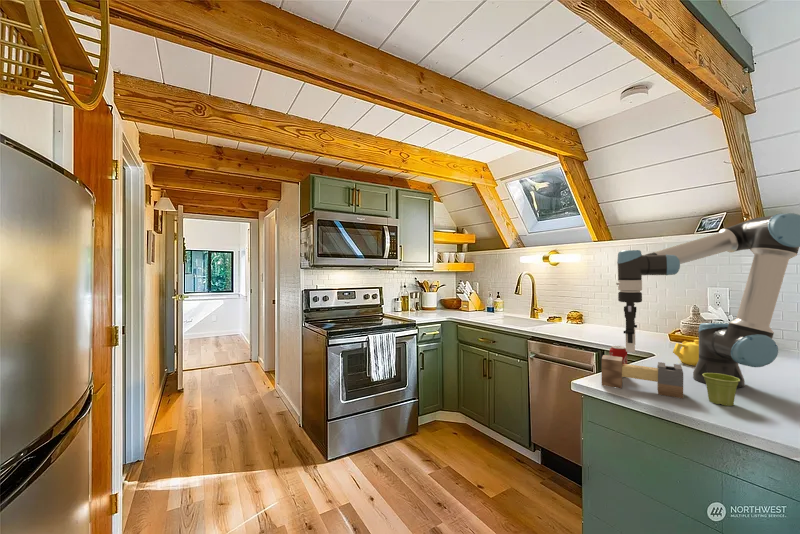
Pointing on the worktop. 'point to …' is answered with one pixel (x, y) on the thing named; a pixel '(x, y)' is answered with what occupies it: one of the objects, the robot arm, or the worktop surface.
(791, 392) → the worktop surface
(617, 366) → the socket
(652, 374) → the rod
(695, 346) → the teapot
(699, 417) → the worktop surface
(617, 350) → the beverage can
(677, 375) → the sleeve
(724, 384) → the plant pot
